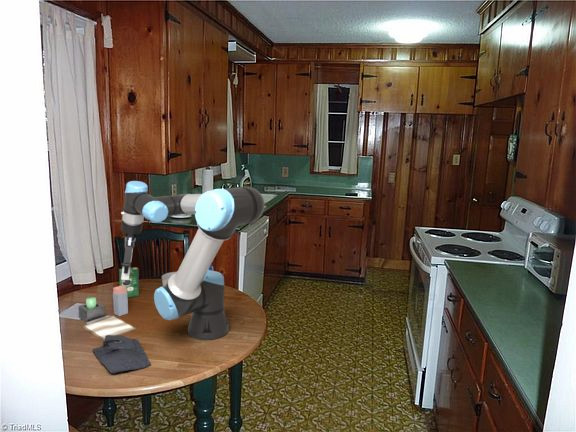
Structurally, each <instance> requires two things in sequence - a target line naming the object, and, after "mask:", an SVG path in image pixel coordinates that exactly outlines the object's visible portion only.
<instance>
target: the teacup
mask: <svg viewBox="0 0 576 432" xmlns="http://www.w3.org/2000/svg"><path fill="white" fill-rule="evenodd" d="M177 272H178V270H177V271H172V272H167V273H164V274H163V275H162V276H161V283H162V287H164V286H165V285H166V284H167V282H168V280H169V278H170V277H171V276H172V275H173V274H175V273H177Z"/></svg>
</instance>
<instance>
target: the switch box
mask: <svg viewBox="0 0 576 432" xmlns="http://www.w3.org/2000/svg"><path fill="white" fill-rule="evenodd" d="M96 306H97V307H94V308H91V309H88V308H87V307H86V303H85V304H80V305H78V317H79V319H80V320H81V321H83V322H85V323H86V322H89V321H92V320H95V319H99V318H102V317H105V316H106V311H105V309H106V308H105V307H106V306H105V305H104V304H102V303H100V302H99V301H96Z"/></svg>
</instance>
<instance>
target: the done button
mask: <svg viewBox="0 0 576 432" xmlns="http://www.w3.org/2000/svg"><path fill="white" fill-rule="evenodd" d="M96 302H97V298H96V296H89V297H87V298H85V304H86V307H87V308H88V309H91V308H94V307H97V306H96Z"/></svg>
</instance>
